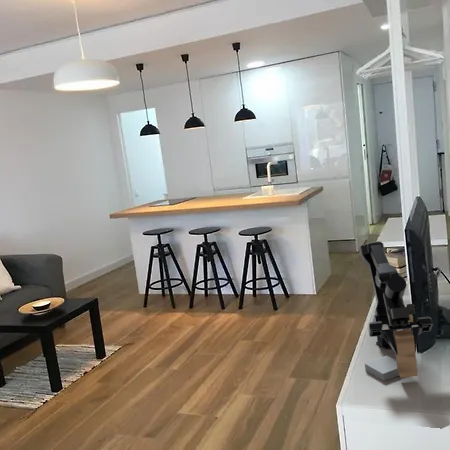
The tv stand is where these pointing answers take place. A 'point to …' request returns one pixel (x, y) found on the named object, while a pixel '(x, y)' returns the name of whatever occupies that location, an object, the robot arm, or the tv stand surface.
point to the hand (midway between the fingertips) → (406, 353)
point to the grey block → (382, 368)
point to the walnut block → (405, 353)
